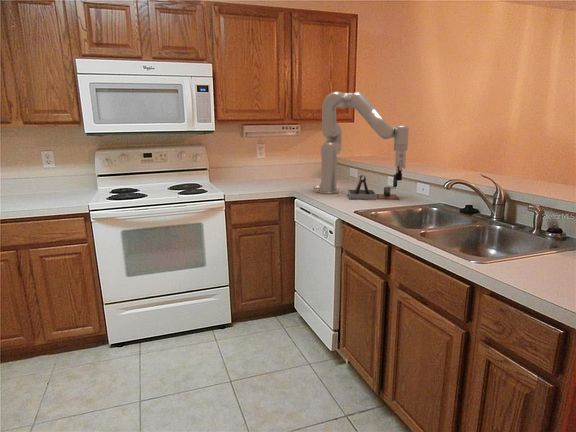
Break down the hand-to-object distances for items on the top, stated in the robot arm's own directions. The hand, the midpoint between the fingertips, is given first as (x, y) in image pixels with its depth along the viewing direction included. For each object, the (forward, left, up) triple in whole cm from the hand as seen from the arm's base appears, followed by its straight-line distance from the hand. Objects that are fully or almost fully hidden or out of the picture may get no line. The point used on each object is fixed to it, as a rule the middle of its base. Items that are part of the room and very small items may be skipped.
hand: (398, 180), depth 225 cm
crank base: (-6, -1, -10) cm, 12 cm away
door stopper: (-21, -1, -10) cm, 23 cm away
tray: (-21, -1, -10) cm, 23 cm away
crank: (-4, +1, -9) cm, 10 cm away
